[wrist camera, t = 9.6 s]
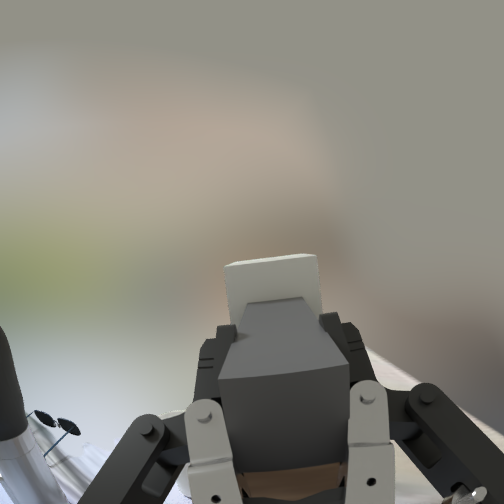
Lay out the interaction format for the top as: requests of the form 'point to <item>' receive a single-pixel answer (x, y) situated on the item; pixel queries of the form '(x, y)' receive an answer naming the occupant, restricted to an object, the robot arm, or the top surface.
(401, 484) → the top surface
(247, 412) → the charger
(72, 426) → the sunglasses
